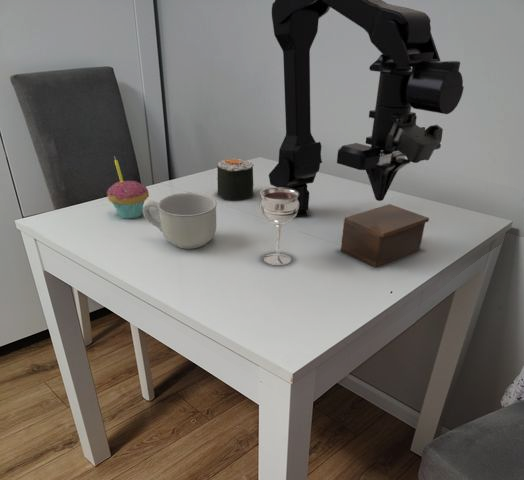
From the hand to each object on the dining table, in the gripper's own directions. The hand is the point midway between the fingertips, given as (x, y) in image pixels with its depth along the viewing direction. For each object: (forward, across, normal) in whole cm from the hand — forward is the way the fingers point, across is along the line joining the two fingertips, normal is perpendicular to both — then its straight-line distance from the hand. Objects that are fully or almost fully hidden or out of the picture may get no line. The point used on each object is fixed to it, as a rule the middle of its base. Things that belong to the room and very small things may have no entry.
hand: (379, 200), depth 88 cm
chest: (+9, 0, -2) cm, 9 cm away
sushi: (+9, -3, +41) cm, 42 cm away
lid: (+3, 0, -2) cm, 4 cm away
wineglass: (+9, -18, +7) cm, 21 cm away
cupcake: (+9, -29, +43) cm, 53 cm away
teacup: (+9, -28, +24) cm, 38 cm away
